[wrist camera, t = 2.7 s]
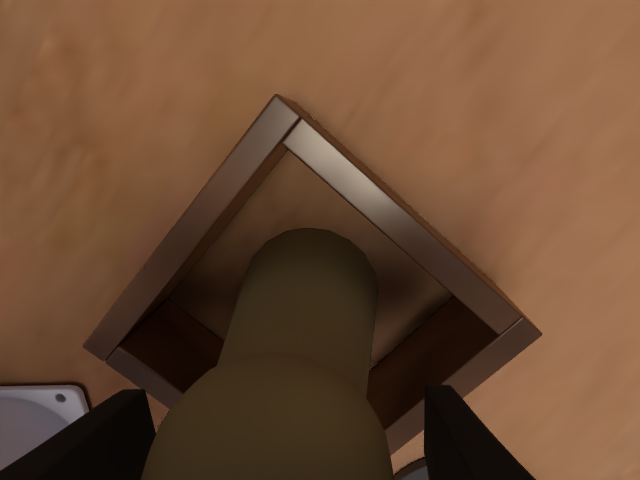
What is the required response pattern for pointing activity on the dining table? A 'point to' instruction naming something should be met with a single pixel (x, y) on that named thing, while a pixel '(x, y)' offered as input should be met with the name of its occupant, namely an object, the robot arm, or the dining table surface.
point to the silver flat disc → (414, 471)
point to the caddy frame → (374, 204)
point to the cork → (285, 376)
